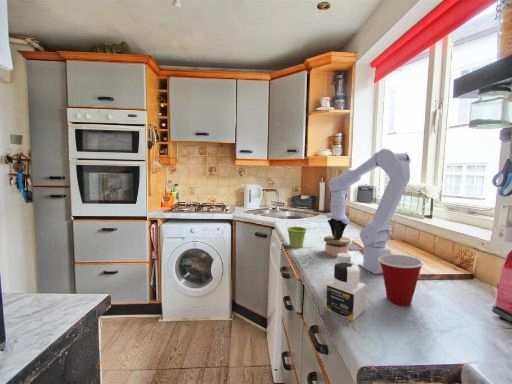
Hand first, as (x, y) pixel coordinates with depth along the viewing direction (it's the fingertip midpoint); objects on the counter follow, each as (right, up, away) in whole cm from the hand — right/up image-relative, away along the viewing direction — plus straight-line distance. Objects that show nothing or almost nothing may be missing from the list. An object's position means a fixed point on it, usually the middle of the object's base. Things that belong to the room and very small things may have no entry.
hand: (337, 237), depth 107 cm
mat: (+8, -7, +10) cm, 14 cm away
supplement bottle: (-8, -10, -30) cm, 33 cm away
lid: (0, -2, 0) cm, 2 cm away
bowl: (0, -8, +1) cm, 8 cm away
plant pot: (-16, -7, +12) cm, 21 cm away
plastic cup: (+4, -11, -38) cm, 40 cm away
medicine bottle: (-12, -11, -43) cm, 46 cm away
